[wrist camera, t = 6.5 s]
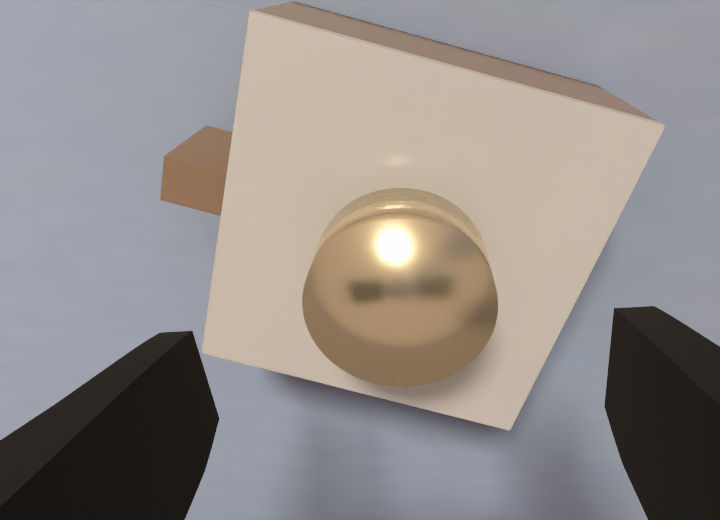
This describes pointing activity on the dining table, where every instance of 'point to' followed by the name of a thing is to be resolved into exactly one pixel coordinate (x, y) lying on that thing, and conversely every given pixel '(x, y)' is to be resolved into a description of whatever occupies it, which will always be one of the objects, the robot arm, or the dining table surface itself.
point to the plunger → (400, 289)
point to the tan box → (404, 170)
